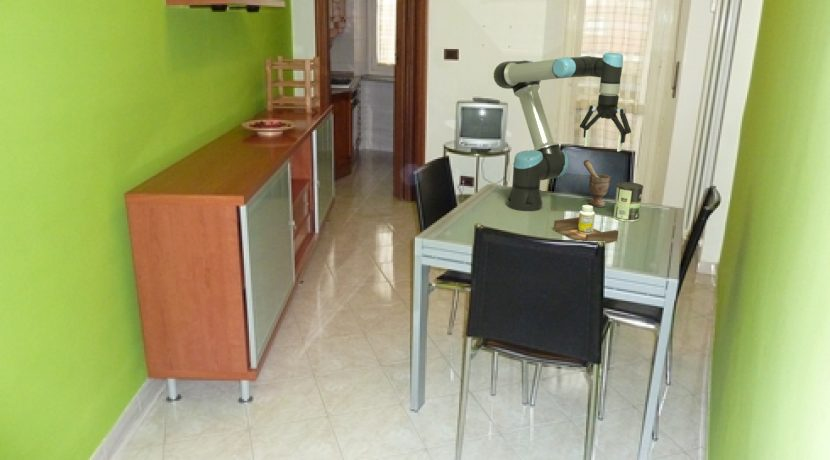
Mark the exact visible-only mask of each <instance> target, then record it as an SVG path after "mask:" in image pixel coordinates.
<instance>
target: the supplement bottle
mask: <svg viewBox="0 0 830 460" xmlns="http://www.w3.org/2000/svg"><path fill="white" fill-rule="evenodd" d="M595 215H596V213H595V211H594V206H590V205H589V204H584V205H582V206H581V210H579V213H578V217H579V222H578V232H579V233H581V234H591V233H592V232H593V229H594V224H595V223H594V222H595Z"/></svg>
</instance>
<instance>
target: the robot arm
mask: <svg viewBox="0 0 830 460" xmlns="http://www.w3.org/2000/svg"><path fill="white" fill-rule="evenodd" d="M623 63H624V55H623V54H622V53H619V52H617V53H615V52H604V53H603V55H602V57H598V56H590V55H581V56H579V57H578V56H577V57H576V56H575V57H571V56H570V57H568V56H566V57H565V56H563V57H559V58H554V59H548V60H538V61H532V60H524V59H523V60H516V61H515V60H514V61H511V60H510V61H507V60H506V61H503V62H501V63H499V64H498V65H497V66H496V67H495V69H494V72H493V80H494V82H495V84H496V85H497V86H498V87H500V88H502V89H505V90H506V89H507V90H510V89H512V92H513V94H514V96H515V97H517V98H518V99H519V101H520V104H521V109H522V112H523V114H524V117H525V122H526V126H527V128H528V131H529V135H530V138H531V141H532V144H533V149H531V150H523V151H519V152H517V153H516V154H515V155H514V161H513V170H512V171H513V172H512V173H513V174H512V186H511V190H510V191H509V194H508V197H507V200H506V206H507V207H509V208H511V209H514V210H518V211H525V212H527V211H530V212H531V211H538V210H539V211H540V210H541V209H542V208H543V202H544V201H543V198H542V194H541V189H540V187H541V181H546V180H550V179H551V180H553V179H557V178H560V177H563V176H564V175H565V174H566V173H567V172H568V168H569V166H570V161H569V156H568V154H567V152H565V151H564V150H561V149H560V146H559V144H558V143H556V142H555V141H554V139H553V135H552V133H551V130H550V129H551V128H550V127H549V123H548V120H547V116H546V113H545V110H544V106H543V104H542V100H541V98H540V94H539V90H540V88H541V86H540V84H541V81H547V80H555V79H567V78H568V79H569V78H570V79H571V78H585V77H587V78H588V77H594V78H600V79H599V80H600V81H599V87H598V88H599V89H598V93H599V95H598V98H597V99H598V101H597V105H595V104H592V105H589V109H588V112H586V115H585V117H584V118H583V119H582V121H581V123H580V125H579V128H581V129H583V136H582V137H583V138H584V147H590V140H591V139H590V138H591V130H592V129H590V128H591V127H592V126H593V125H594V124H595V123H596V122H597V121H598V120H599V119H607V120H611V121H613V124H614V125H615V127H616V128H617V129H618V131H619V134H618V139H617V147H616V148H617V150H616V152H621V151H622V150H623V143H624V144H625V142H626V136H627V134H628V135H629V134H631V133H632V129H631V126H630V124H629V121H628V118H627V115H626V108H623V107H622V108H618V105H619V100H620V99H619V94H620V90H621V89H620V87H621V79H622V78H621V77H622V71H623V66H624V65H623ZM596 111H597V114H596V115H594V117H593V118H592V119H591V116H592V115H593V114H594V112H596ZM617 114H619V117H618V115H617ZM619 118H620V119H621V121H620V120H619ZM590 119H591V120H590ZM589 120H590V121H589Z"/></svg>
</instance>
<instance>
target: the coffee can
mask: <svg viewBox="0 0 830 460" xmlns="http://www.w3.org/2000/svg"><path fill="white" fill-rule="evenodd" d="M643 190H644V185H643V184H640V183H637V182H630V181H623V182H621V181H620V182H618V183H616V190H615V199H614V209H613V210H614V211H613V216H612V218H613V219H615V220H616V221H621V222H626V223H627V222H628V223H629V222H630V223H631V222H632V223H633V222H634V223H635V222H638V221H640V211H641V203H642V196H643Z"/></svg>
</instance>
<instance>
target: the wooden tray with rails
mask: <svg viewBox="0 0 830 460" xmlns="http://www.w3.org/2000/svg"><path fill="white" fill-rule="evenodd" d="M578 222H579V216H577V217H572V218H571V217H570V218H564V219H556V220H554V222H553V232H556V233H558V234H561V235H562V236H565V237H566V238H569V239H571V240H573V241H575V240H582V241H605V244H609V243H614V242H615V241H616V242H618V238H619V230H617V229H613V230H607V231H600V230H598V229H596V228H593V232H592V233H591V234H581V233H579V232H578Z"/></svg>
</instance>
